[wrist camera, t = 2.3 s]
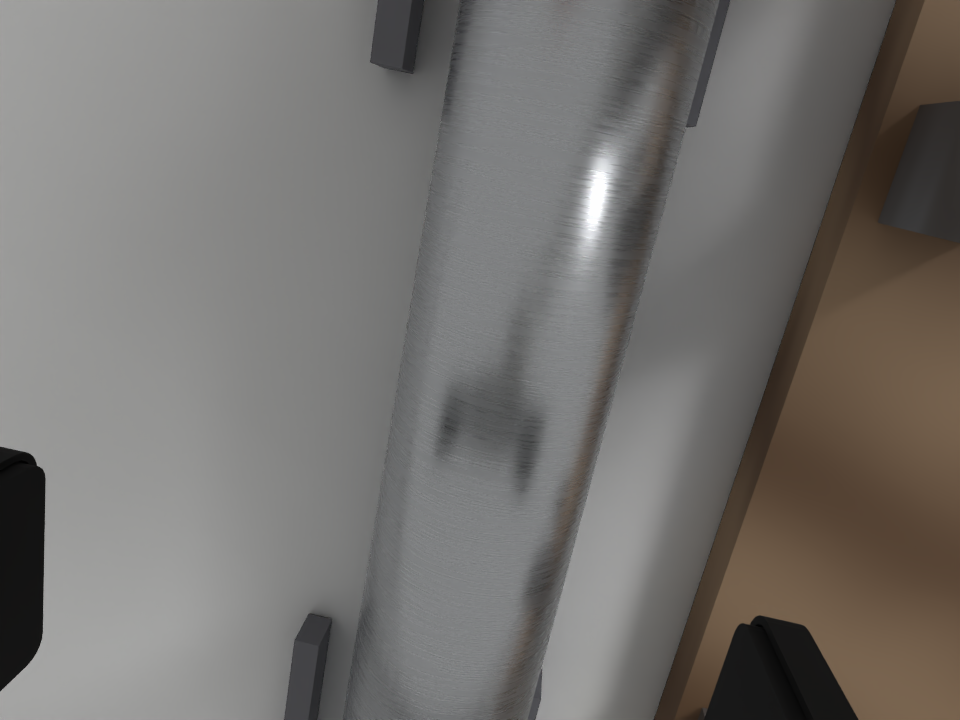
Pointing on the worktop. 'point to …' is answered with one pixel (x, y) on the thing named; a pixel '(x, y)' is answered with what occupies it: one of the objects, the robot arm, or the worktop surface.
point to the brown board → (861, 417)
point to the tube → (516, 339)
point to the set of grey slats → (398, 52)
